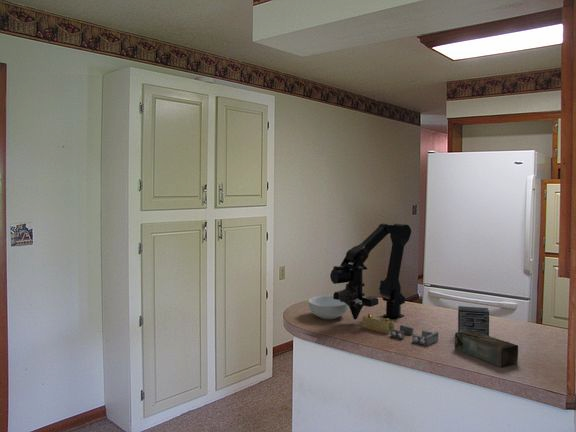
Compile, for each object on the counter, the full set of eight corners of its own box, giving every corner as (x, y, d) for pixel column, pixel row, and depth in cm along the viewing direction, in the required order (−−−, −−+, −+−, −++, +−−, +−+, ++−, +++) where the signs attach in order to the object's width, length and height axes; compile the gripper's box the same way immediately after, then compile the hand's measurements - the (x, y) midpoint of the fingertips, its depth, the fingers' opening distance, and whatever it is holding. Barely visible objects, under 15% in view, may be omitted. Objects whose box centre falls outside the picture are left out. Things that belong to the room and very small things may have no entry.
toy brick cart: (402, 331, 179) (402, 323, 178) (439, 340, 168) (439, 332, 168) (389, 336, 172) (389, 328, 172) (427, 346, 162) (427, 338, 162)
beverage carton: (470, 345, 163) (470, 327, 163) (519, 364, 146) (520, 344, 146) (453, 349, 160) (454, 330, 159) (502, 369, 143) (502, 348, 142)
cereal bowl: (300, 316, 199) (300, 300, 199) (327, 309, 211) (327, 293, 210) (329, 325, 187) (329, 307, 186) (356, 316, 198) (356, 300, 197)
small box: (487, 335, 174) (488, 307, 173) (489, 340, 167) (490, 312, 167) (457, 332, 177) (458, 305, 176) (458, 337, 171) (458, 309, 170)
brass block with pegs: (367, 325, 187) (367, 312, 186) (393, 332, 178) (394, 318, 178) (362, 327, 184) (362, 314, 184) (388, 334, 176) (389, 320, 175)
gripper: (324, 280, 188) (324, 318, 190) (362, 288, 175) (362, 328, 177) (341, 276, 196) (341, 313, 198) (379, 283, 183) (379, 322, 184)
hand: (355, 319), depth 189 cm, fingers closed
